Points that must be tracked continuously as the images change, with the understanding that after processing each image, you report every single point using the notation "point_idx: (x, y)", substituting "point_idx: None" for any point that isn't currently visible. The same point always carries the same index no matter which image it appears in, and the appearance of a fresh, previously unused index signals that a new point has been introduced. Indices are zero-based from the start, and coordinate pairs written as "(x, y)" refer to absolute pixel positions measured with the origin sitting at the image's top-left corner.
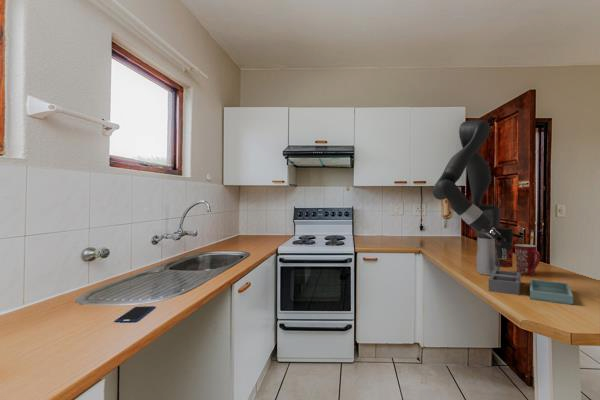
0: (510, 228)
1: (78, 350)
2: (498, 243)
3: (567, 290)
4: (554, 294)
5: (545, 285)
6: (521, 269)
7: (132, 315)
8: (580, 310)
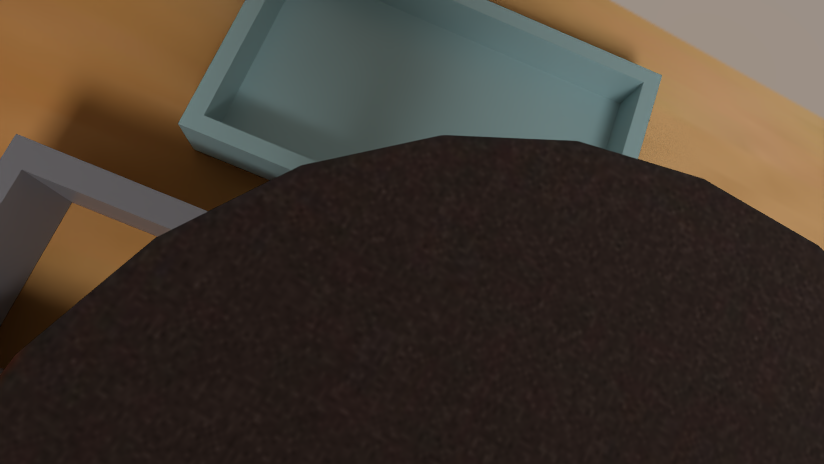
0: (592, 248)
1: None
2: None
3: (467, 14)
4: None
5: (250, 56)
6: None
7: None
8: (723, 118)
